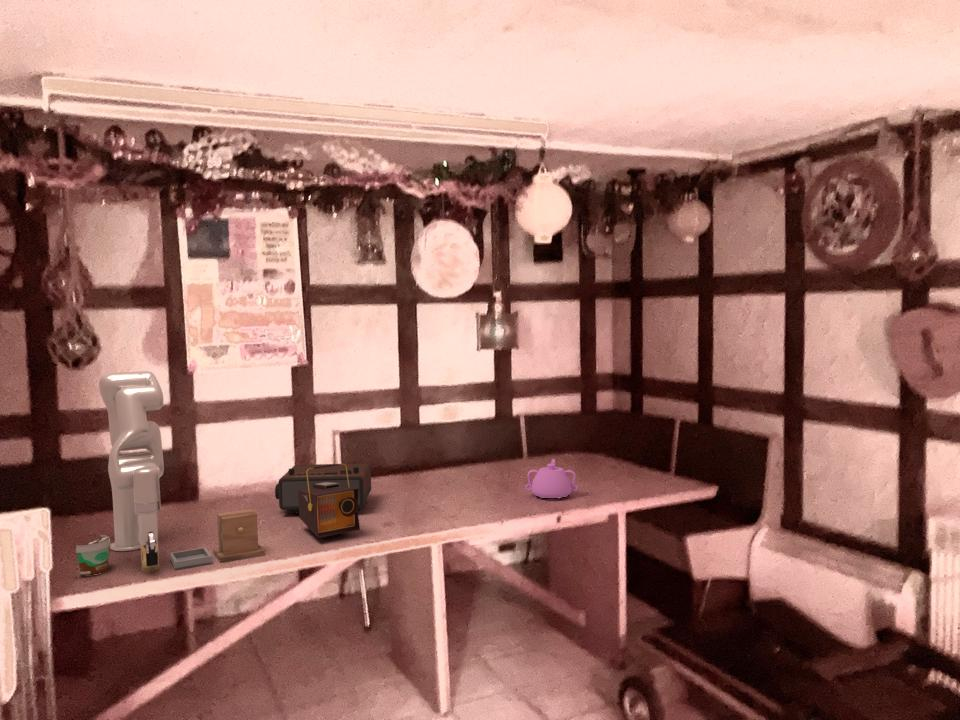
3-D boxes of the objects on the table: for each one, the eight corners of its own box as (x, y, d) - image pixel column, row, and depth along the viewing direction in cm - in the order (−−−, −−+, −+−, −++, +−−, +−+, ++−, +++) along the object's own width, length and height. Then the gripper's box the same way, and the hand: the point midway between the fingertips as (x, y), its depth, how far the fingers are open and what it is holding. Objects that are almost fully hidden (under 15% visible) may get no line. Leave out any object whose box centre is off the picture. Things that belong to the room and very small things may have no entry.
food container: (95, 579, 234) (93, 546, 234) (77, 578, 235) (75, 546, 235) (121, 565, 246) (119, 534, 246) (103, 565, 247) (102, 534, 247)
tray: (170, 560, 250) (169, 552, 250) (205, 554, 256) (205, 547, 256) (175, 570, 241) (174, 562, 241) (212, 563, 246) (211, 556, 246)
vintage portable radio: (319, 546, 262) (316, 473, 261) (292, 531, 281) (289, 463, 280) (362, 537, 272) (360, 466, 270) (333, 523, 291) (331, 457, 289)
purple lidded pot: (578, 489, 336) (578, 458, 335) (577, 502, 315) (577, 468, 314) (528, 488, 339) (527, 457, 338) (523, 501, 318) (523, 467, 317)
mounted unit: (213, 552, 258) (211, 512, 257) (255, 545, 264) (254, 506, 263) (220, 562, 247) (218, 521, 246) (264, 555, 254) (263, 514, 253)
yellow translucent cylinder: (141, 568, 243) (139, 543, 243) (158, 565, 246) (156, 540, 245) (142, 572, 239) (141, 547, 239) (160, 569, 242) (158, 544, 241)
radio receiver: (273, 518, 300) (271, 472, 299) (288, 501, 327) (287, 459, 326) (363, 515, 301) (362, 470, 300) (371, 498, 328) (370, 456, 326)
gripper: (131, 503, 247) (134, 556, 248) (137, 514, 232) (140, 571, 233) (156, 499, 251) (159, 552, 252) (164, 511, 235) (167, 566, 236)
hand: (150, 561), depth 242 cm, fingers open, 9 cm apart
